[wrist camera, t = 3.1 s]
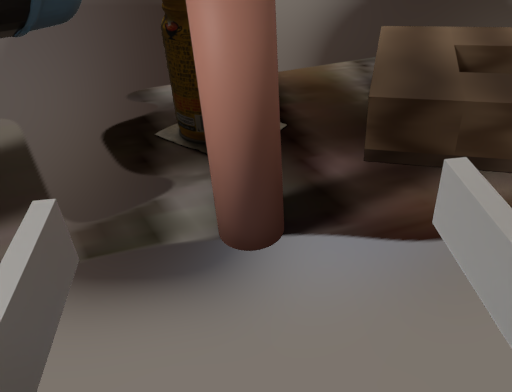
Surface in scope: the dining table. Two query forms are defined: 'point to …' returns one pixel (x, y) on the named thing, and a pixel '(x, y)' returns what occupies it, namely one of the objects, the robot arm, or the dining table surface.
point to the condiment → (182, 78)
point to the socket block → (441, 97)
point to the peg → (240, 116)
